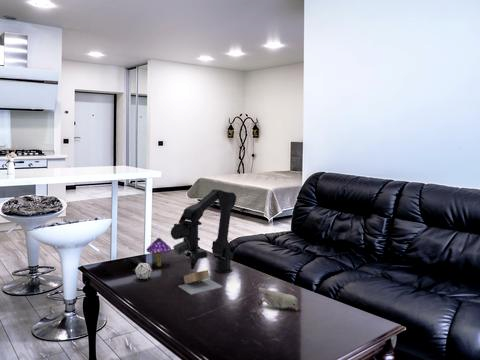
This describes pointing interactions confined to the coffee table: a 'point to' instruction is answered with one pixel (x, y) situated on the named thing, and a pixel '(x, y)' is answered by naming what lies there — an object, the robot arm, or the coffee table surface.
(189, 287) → the rubber mat
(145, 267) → the game die
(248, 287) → the coffee table surface
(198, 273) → the brown wooden block
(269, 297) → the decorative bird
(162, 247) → the decorative mushroom
